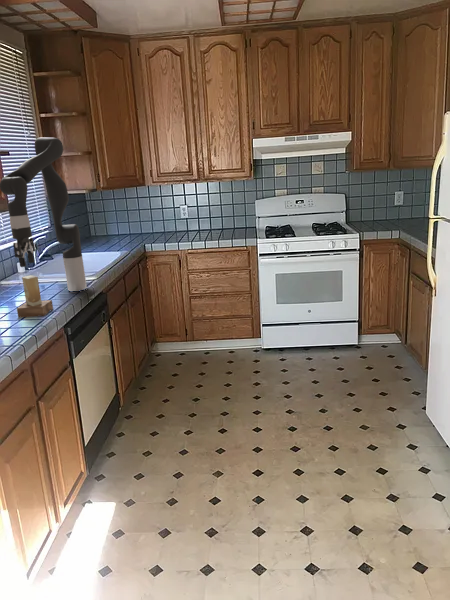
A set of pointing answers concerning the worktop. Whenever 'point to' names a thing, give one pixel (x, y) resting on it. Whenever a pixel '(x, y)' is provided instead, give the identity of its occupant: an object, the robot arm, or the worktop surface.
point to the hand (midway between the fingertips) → (27, 264)
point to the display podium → (35, 309)
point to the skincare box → (32, 290)
